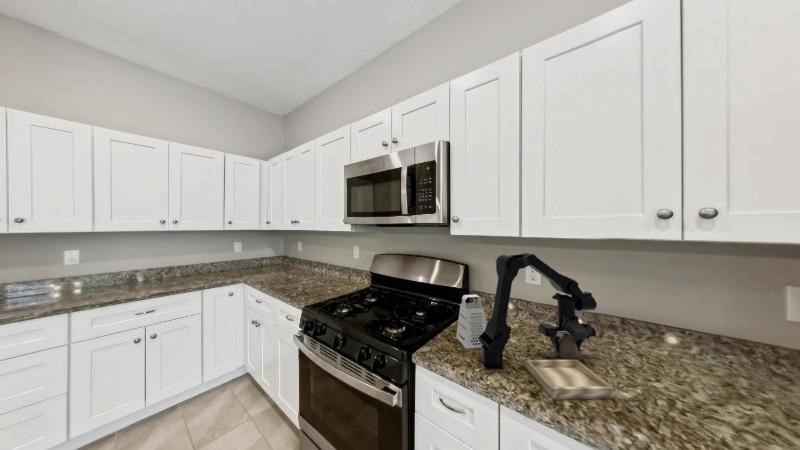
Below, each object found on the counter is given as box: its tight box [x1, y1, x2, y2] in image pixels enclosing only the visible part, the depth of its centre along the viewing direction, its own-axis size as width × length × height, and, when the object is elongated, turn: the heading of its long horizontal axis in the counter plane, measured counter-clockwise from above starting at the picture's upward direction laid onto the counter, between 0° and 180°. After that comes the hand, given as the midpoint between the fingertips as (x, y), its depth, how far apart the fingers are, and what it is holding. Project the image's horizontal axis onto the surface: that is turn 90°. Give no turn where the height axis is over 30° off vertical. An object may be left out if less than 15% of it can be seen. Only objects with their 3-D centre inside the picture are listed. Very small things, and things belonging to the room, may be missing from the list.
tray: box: [525, 359, 616, 400], centre depth 82 cm, size 18×16×3 cm
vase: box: [557, 332, 579, 360], centre depth 97 cm, size 7×7×9 cm
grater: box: [455, 294, 487, 350], centre depth 111 cm, size 10×10×20 cm
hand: (566, 352), depth 97 cm, fingers closed on vase, 7 cm apart
